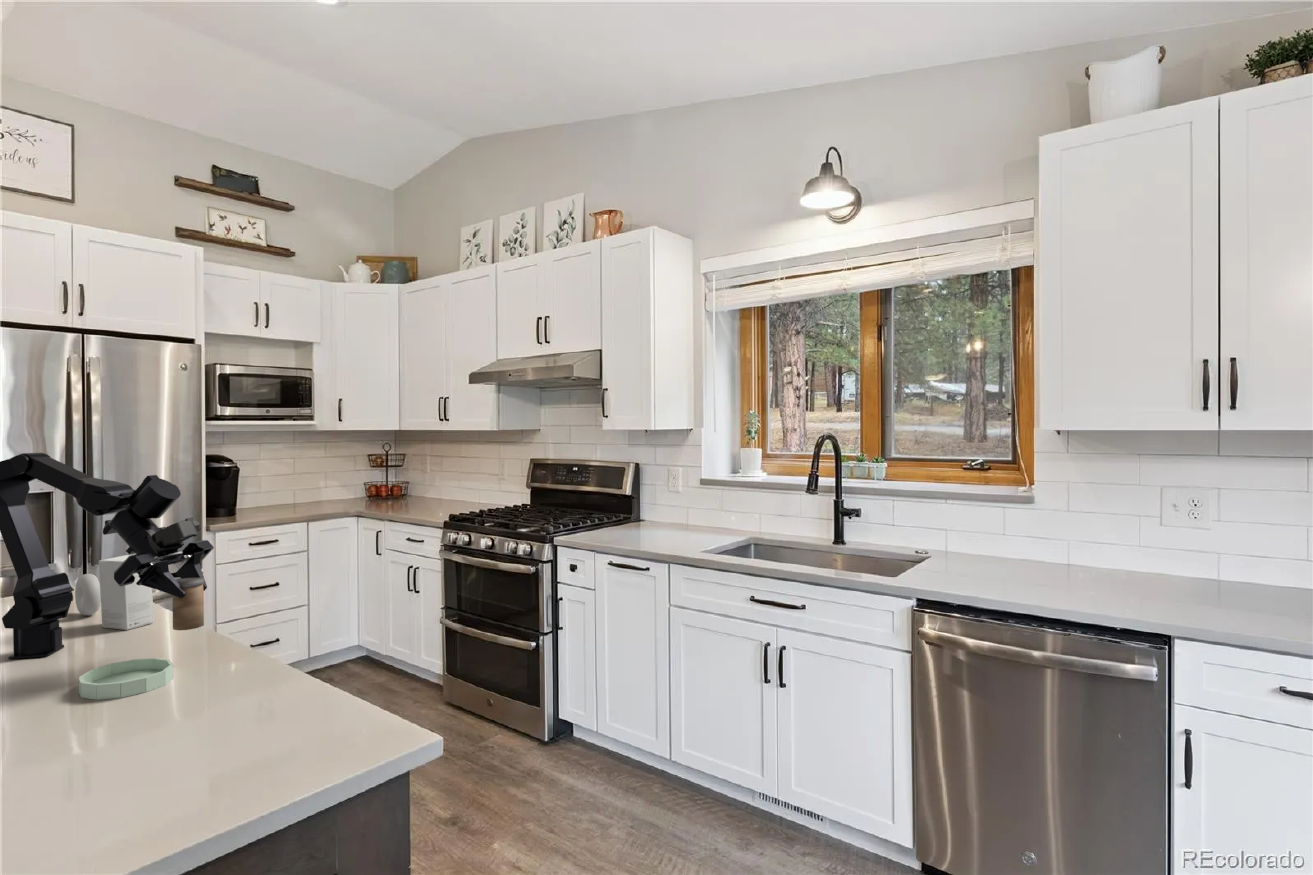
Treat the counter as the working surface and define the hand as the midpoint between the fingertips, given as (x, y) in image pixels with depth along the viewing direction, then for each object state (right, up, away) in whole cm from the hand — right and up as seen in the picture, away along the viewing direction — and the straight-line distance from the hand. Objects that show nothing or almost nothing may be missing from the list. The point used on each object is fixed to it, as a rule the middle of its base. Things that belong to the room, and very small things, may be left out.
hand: (194, 592), depth 136 cm
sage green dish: (-4, -14, -12) cm, 19 cm away
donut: (-47, -13, +32) cm, 58 cm away
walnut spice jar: (-1, -7, 0) cm, 7 cm away
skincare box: (-31, -13, +24) cm, 41 cm away
